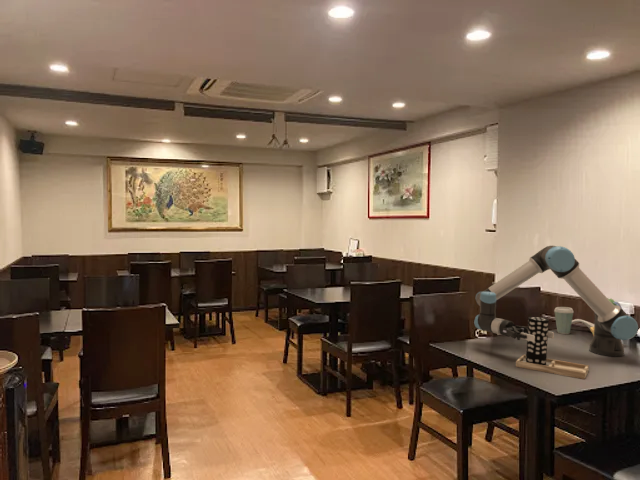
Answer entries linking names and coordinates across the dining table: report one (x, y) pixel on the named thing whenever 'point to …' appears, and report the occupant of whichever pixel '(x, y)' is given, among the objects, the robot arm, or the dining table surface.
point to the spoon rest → (584, 323)
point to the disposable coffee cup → (563, 319)
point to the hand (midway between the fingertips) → (544, 337)
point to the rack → (556, 367)
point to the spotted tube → (537, 340)
